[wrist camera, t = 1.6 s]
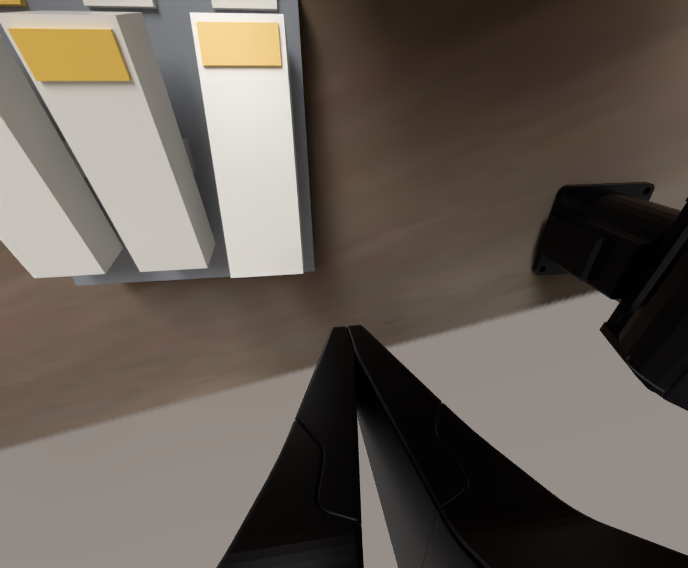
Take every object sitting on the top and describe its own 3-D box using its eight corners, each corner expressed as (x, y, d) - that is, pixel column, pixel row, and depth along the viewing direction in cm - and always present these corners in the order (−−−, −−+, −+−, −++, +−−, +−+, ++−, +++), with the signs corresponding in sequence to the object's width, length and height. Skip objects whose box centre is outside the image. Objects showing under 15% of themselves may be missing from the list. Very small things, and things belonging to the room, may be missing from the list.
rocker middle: (141, 12, 10) (112, 15, 8) (215, 243, 16) (206, 270, 15) (40, 10, 10) (-10, 13, 8) (154, 246, 16) (138, 273, 14)
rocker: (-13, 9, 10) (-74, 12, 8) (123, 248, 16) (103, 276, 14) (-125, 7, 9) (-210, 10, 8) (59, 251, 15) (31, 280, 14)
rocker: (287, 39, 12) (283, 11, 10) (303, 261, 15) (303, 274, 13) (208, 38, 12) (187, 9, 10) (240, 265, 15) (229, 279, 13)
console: (296, -12, 14) (294, -48, 11) (313, 250, 21) (315, 280, 17) (-19, -20, 13) (-135, -62, 10) (106, 261, 20) (64, 295, 16)
